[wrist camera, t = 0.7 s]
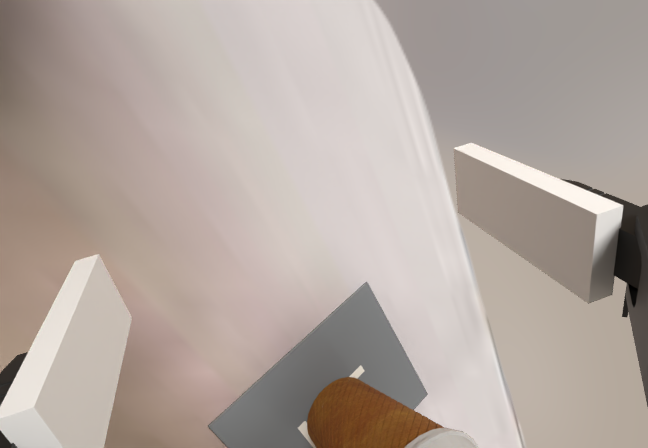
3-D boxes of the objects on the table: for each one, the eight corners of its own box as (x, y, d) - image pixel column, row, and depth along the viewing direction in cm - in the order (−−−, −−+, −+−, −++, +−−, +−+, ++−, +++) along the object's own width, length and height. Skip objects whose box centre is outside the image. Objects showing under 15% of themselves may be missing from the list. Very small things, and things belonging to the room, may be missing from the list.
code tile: (208, 425, 31) (209, 427, 31) (366, 282, 36) (367, 282, 36) (304, 527, 37) (305, 529, 37) (426, 393, 43) (427, 394, 42)
